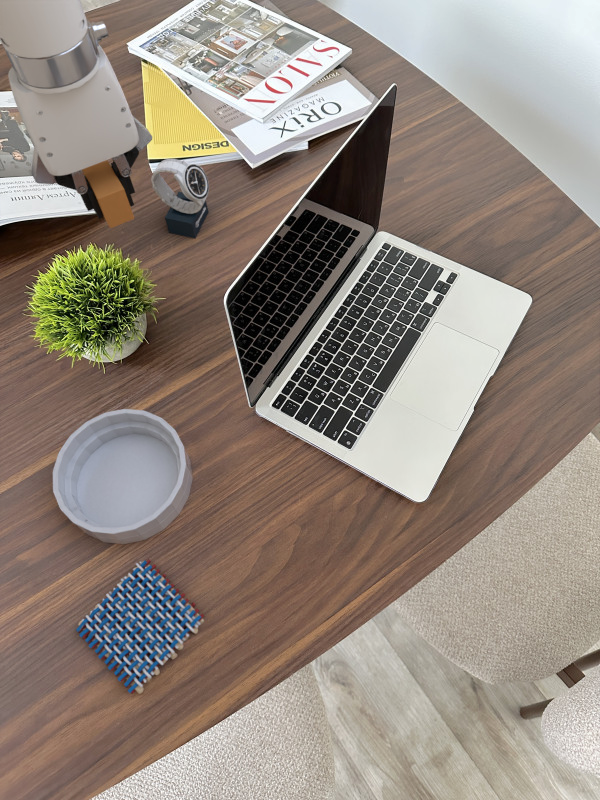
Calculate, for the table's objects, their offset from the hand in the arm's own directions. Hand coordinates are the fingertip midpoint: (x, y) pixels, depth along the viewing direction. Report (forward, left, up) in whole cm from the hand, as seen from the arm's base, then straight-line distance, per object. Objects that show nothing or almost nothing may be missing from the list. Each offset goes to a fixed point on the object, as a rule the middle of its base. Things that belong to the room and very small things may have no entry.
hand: (111, 203), depth 72 cm
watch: (+11, +11, -19) cm, 25 cm away
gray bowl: (-13, -24, -19) cm, 33 cm away
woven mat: (-18, -40, -19) cm, 48 cm away
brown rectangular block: (0, 0, -1) cm, 1 cm away
